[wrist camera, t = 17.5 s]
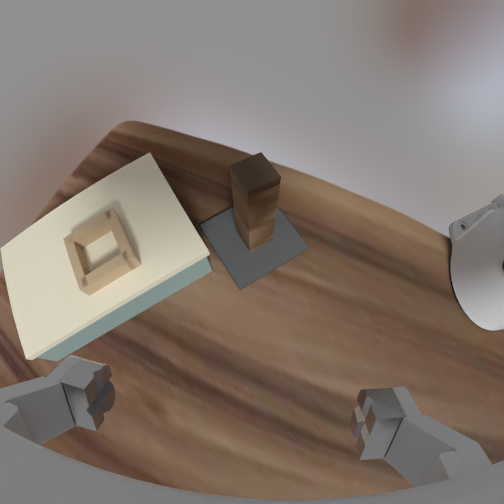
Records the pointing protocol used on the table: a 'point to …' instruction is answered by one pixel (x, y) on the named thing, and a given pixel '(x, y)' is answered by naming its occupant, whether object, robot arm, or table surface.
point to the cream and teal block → (100, 260)
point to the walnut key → (255, 200)
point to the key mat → (260, 260)
